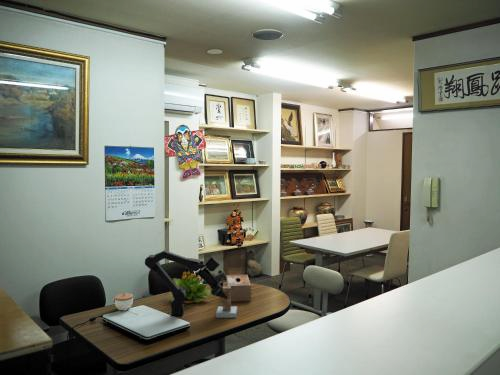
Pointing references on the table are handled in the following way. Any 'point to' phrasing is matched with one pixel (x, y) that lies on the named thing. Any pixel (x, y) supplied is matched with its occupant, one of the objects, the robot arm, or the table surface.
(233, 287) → the tissue box cover
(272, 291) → the table surface
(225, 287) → the walnut block
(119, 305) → the lidded jar
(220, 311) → the slate base
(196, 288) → the potted flower
